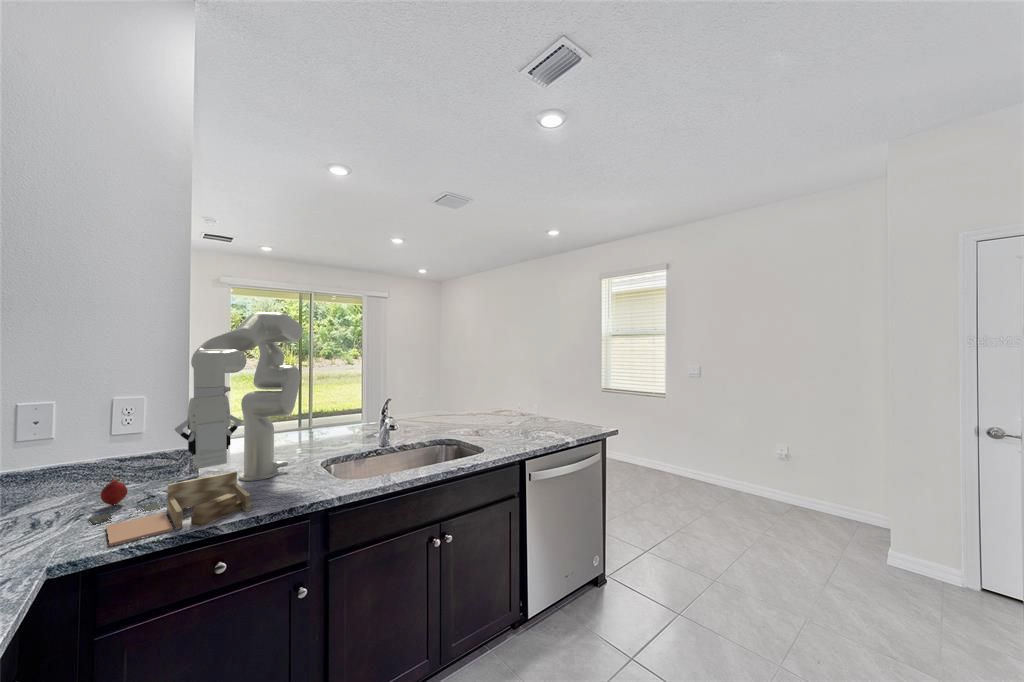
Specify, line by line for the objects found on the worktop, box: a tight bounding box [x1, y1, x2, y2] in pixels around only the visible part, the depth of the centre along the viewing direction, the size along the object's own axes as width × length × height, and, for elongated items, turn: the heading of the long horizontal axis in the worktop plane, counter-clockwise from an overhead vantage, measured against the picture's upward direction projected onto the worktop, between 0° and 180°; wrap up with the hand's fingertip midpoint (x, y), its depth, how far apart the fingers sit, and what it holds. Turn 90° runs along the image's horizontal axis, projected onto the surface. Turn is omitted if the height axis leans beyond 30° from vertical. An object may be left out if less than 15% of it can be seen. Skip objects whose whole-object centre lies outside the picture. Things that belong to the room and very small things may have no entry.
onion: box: [100, 478, 129, 506], centre depth 125 cm, size 6×6×8 cm
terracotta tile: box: [105, 512, 174, 548], centre depth 109 cm, size 12×14×1 cm
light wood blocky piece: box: [166, 471, 252, 530], centre depth 122 cm, size 17×16×8 cm
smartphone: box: [87, 502, 163, 525], centre depth 119 cm, size 7×1×15 cm
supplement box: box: [192, 422, 228, 470], centre depth 123 cm, size 7×7×13 cm
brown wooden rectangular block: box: [190, 494, 243, 527], centre depth 118 cm, size 12×4×5 cm, turn 163°
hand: (209, 450), depth 123 cm, fingers closed on supplement box, 7 cm apart
